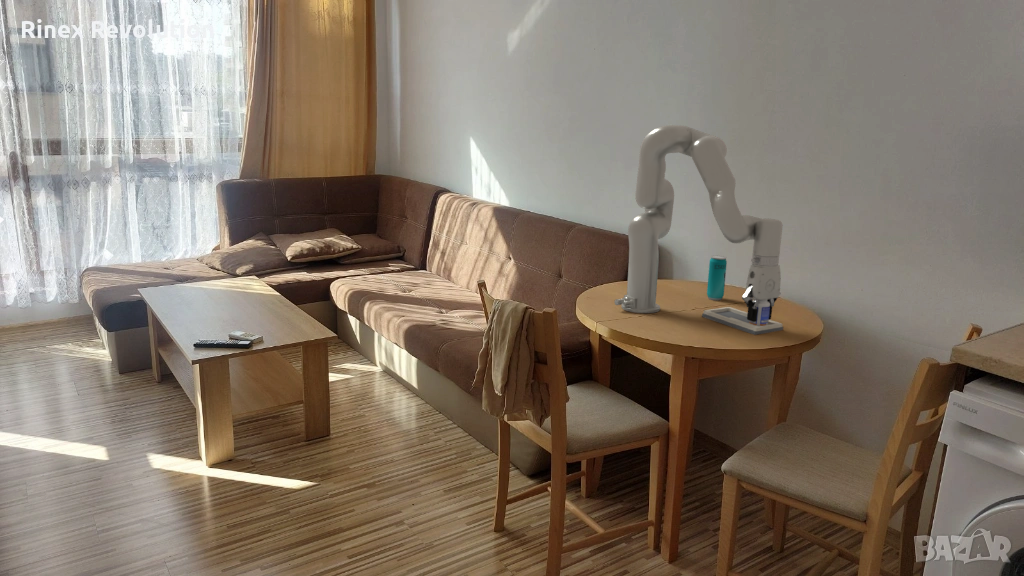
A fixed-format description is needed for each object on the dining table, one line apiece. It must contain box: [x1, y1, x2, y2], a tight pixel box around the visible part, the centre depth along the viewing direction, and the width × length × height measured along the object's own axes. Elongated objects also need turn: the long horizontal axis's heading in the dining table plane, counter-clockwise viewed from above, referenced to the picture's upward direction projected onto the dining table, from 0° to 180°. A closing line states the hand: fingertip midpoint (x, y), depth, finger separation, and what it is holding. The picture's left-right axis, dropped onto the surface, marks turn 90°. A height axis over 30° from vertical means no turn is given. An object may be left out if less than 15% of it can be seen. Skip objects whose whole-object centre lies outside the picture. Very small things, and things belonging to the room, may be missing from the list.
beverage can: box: [706, 255, 728, 301], centre depth 260 cm, size 6×6×15 cm
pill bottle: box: [749, 299, 770, 326], centre depth 225 cm, size 5×5×10 cm
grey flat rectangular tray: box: [701, 306, 784, 336], centre depth 232 cm, size 12×22×2 cm, turn 29°
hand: (759, 318), depth 225 cm, fingers closed on pill bottle, 5 cm apart
